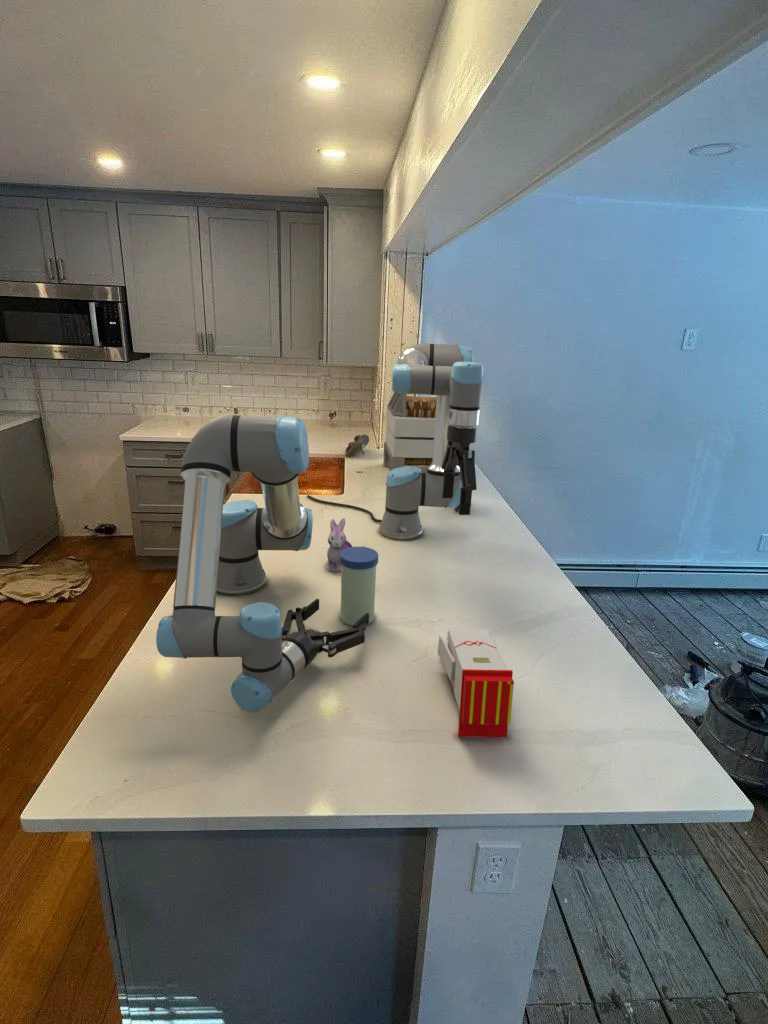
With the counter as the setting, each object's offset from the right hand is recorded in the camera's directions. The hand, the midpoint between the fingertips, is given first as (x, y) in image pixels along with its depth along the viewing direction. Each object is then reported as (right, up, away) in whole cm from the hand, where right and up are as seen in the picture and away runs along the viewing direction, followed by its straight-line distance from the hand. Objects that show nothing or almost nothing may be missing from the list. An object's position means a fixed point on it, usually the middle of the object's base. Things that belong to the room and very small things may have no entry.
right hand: (455, 505), depth 149 cm
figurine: (-32, -18, +24) cm, 44 cm away
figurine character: (+11, 0, +79) cm, 80 cm away
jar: (-26, -29, -4) cm, 39 cm away
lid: (-25, -12, -10) cm, 30 cm away
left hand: (-29, -25, -13) cm, 41 cm away
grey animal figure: (-33, +30, +157) cm, 163 cm away
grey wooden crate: (-2, +17, +126) cm, 127 cm away
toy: (-1, -39, -31) cm, 50 cm away
